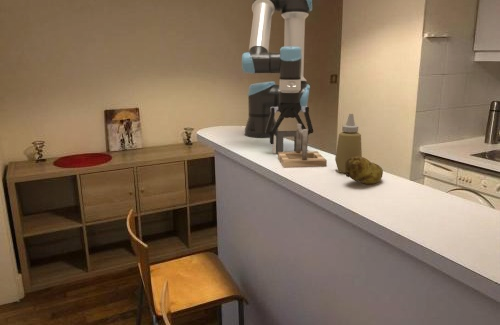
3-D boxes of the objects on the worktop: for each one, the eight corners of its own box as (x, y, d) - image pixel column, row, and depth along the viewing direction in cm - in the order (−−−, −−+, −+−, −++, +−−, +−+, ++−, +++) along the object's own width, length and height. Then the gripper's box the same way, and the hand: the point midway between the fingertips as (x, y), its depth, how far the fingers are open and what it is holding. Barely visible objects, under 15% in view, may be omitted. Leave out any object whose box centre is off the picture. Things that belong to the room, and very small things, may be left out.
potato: (392, 185, 115) (395, 157, 113) (351, 189, 112) (352, 161, 110) (376, 177, 123) (378, 151, 121) (337, 180, 120) (338, 153, 118)
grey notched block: (277, 154, 151) (277, 132, 149) (275, 152, 154) (276, 131, 152) (301, 153, 151) (302, 132, 149) (299, 151, 154) (300, 130, 152)
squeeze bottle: (361, 175, 124) (365, 116, 119) (334, 174, 126) (337, 115, 121) (360, 168, 132) (364, 112, 127) (334, 167, 133) (337, 111, 129)
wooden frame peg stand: (277, 157, 146) (278, 123, 143) (316, 156, 147) (318, 123, 144) (283, 167, 133) (284, 130, 130) (326, 166, 135) (328, 129, 131)
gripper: (259, 92, 142) (259, 155, 148) (324, 92, 144) (321, 154, 150) (257, 91, 149) (257, 150, 155) (318, 90, 151) (316, 149, 157)
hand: (288, 152), depth 152 cm, fingers open, 10 cm apart
